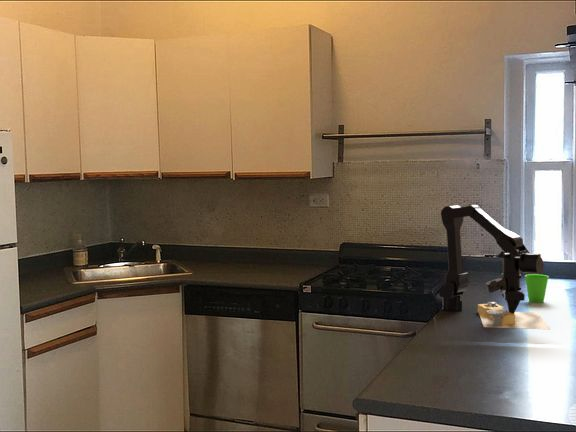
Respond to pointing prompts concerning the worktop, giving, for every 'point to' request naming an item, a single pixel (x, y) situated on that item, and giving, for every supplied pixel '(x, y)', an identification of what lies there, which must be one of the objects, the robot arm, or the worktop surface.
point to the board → (519, 321)
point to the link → (505, 319)
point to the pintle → (491, 304)
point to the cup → (536, 287)
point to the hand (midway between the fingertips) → (511, 315)
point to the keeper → (496, 316)
